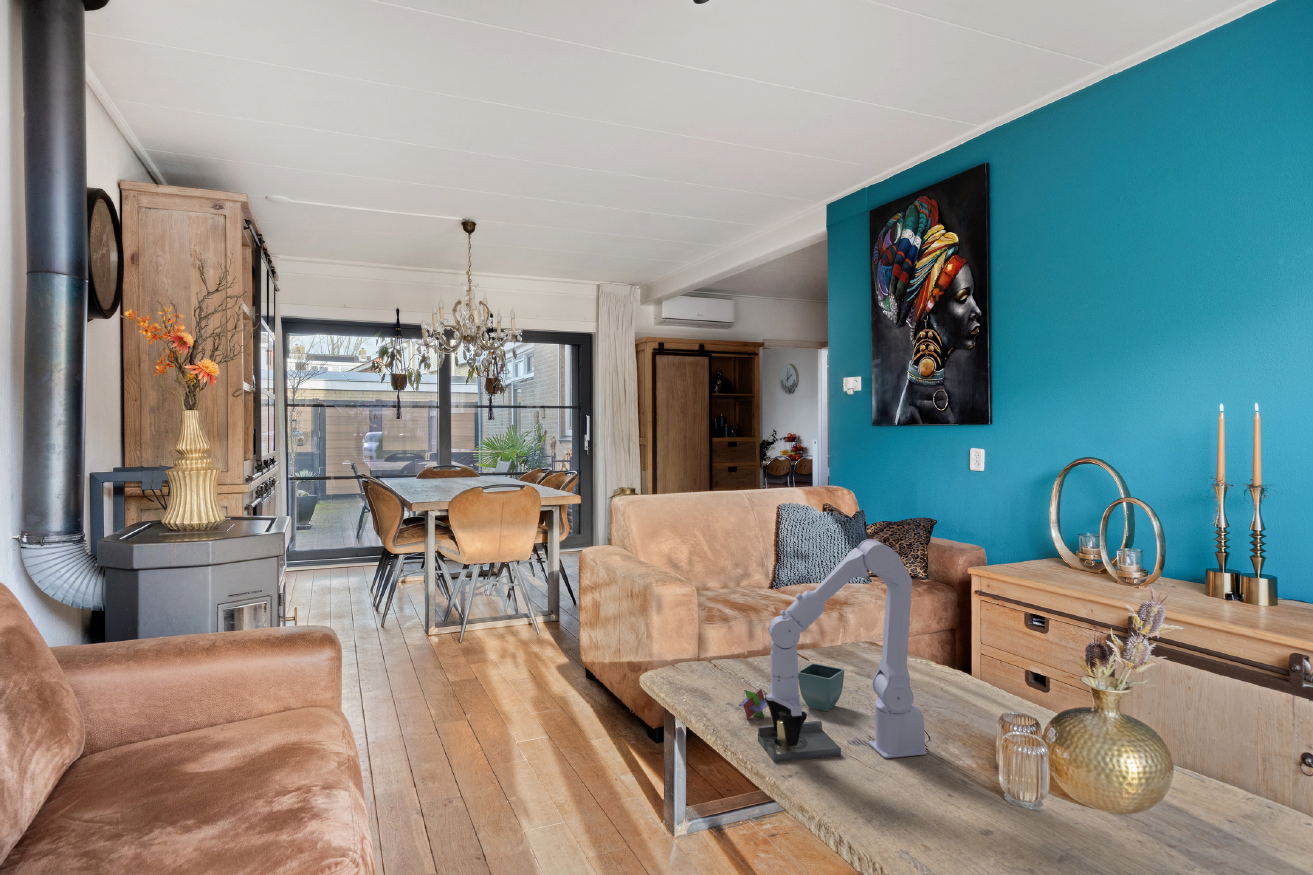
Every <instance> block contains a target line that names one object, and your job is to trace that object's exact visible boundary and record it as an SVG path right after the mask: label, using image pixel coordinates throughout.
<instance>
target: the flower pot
mask: <svg viewBox="0 0 1313 875" xmlns="http://www.w3.org/2000/svg"><path fill="white" fill-rule="evenodd" d="M844 678H845V669H844V668H840V667H833V666H828V665H824V664H819V663H813V662H812V663H810V664H808V665H807V666H805V667H804V668H802V669H801V670H798V687H799V691H800V694H801V697H802V699H803V701H804V703H805V705H806V706H807V708H810V709H811V708H812V709H815V710H819V711H824V712H828V711H829V710H831V709H833V708H834V707H835V706H836V705H837V703H838V701H839V700H840V698H841V694H842V692H843V687H844Z"/></svg>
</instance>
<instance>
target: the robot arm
mask: <svg viewBox="0 0 1313 875" xmlns="http://www.w3.org/2000/svg"><path fill="white" fill-rule="evenodd" d="M868 571H870V572H871V573H872V574H873V575H876V576H877V577H878V578H879V579H880V580H881V581H882V582H883V583H884V584H885V586H886V588H885V589H886V590H885V592H886V593H885V604H884V606H885V607H884V617H883V620H884V622H883V634H882V646H881V647H882V651H881V659H880V660H879V662H878V665H877V672H876V674H875V675H874V676H873V679H872V689H873V691H874V692H875V694H877V698H876V701H875V702H874V710H875V711H874V712H875V715H874V717H875V719H874V721H875V740H869V741H868V745H869V746H871V748H873V749H874V750H875V751H876V752H877V753H879V755H881V757H883V758H885V759H890V758H891V759H892V758H894V759H895V758H900V757H901V758H902V757H903V758H904V757H911V756H912V757H913V756H922V755H923V756H924V755H927V754H928V753H927V751H926V745H925V744H926V742H925V740H926V738H925V736H926V735H925V731H926V730H925V718H924V716H923V713H922V711H921V709H920V708H919V707H918V706H917V705H914V704H913V703H914V692H913V690H912V689H911V686H910V685H911V677H910V673H909V668H908V652H909V651H908V649H909V635H910V634H909V633H910V624H911V623H910V619H911V607H912V605H911V603H912V590H913V580H912V577H911V575H910V574H909V572H908V570H907V568H906V566H905V565H904V563H903V561H902V558H901V555H899V554H898V552H896V551H895V550H894V549H893V548H891V547H890V546H888V545H887V544H883V543H882V542H881V541H879V540H878V539H874V538H867V539H865V540H862V541H861V542H860V543H859V544H858V546H857V547H854V548H853V549H852V550H850V551H849V552H848V554H847V555H846V556H845V557H844V558H843V559H842V560H841V561H840V562H839V563H838V564H837V566H835V568H834V569H833V570H832V571H831V572H830V573H829V574H828V575H827V576H826V577H825V578H824V580H822V582H820V584H819V585H817V587H816V588H815V589H814V590H805V591H804V592H802V593H800V592H798V593H797V594H796V595H795V600H794V601H793V602H792V603H791V604H790V605H789V606H788V607H787V608H786V609H785V610H784V609H782V610H781V611H780V613H779V614H780V615H778V616H775V617H774V618H772V619H771V621H770V623H769V627H768V628H767V629H768V633H769V635H770V637H771V643H770V649H771V650H770V678H771V679H770V680H771V682H770V684H769V693H767V695H766V697H765V696H764V699H765V701H766V703H767V705H768V706H767V707H768V709H769V712H770V716H771V719H772V720H771V721H772V725H773V726H774V729H775V731H776V732H777V720H778V719H781V720H782V723H783V727H784V733H785V740H786V744H787V746H797V744H798V740H799V735H800V731H801V728H802V725H803V723H804V722H805V721H806V720H807V717H808V714H807V712H806V711H803V709H802V707H803V706H802V705H801V702H800V701H801V700H800V697H801V696H800V693H799V691H800V689H799V679H798V671H799V656H798V655H799V653H798V650H797V648H798V645H797V644H798V643H799V641H800V638H801V633H804V632H805V631H806V630H807V629H808V628H809V627H810V626H812V624H813V623H814V622H816V620H817V619H818V618H819V617H821V616H822V614H823V613H824V612H825V610H826V602H828V600H830V598H832V597H833V596H834V595H835V594H837V592H839V591H840V590H841V589H842V588H844V586H846V585H847V584H848V583H849V582H850V581H851V580H852V579H853V578H862V577H868V576H870V574H869V573H868Z"/></svg>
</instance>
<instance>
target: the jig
mask: <svg viewBox="0 0 1313 875" xmlns="http://www.w3.org/2000/svg"><path fill="white" fill-rule="evenodd" d="M757 742H758V743H759V744H760V746H761V747H762V748H763V750H764V751H765V752H766V754H767V756H769V758H770V759H771V760H772V761H773V763H779V762H789V761H790V762H791V761H803V760H810V759H811V760H812V759H823V758H822V757H824V758H832V757H833V758H834V757H841V756H842V748H841V746H839V745H838V744H837V743H836V742H835V741H834V740H833V739H832V738H831V737H830V736H829V735H828V734H827V733H826V732H825V731H824V730H823V722H822V721H821V720H817V721H806V722H805V721H804V723H803V725H802V728H801V731H800V735H799V740H798V744H797V746H791V747H784V746H779V745H778V741H777V732H776V731H775V729H774V726H773V724H768V725H759V726H758V725H757ZM840 755H841V756H840Z"/></svg>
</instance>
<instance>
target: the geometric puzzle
mask: <svg viewBox="0 0 1313 875" xmlns="http://www.w3.org/2000/svg"><path fill="white" fill-rule="evenodd" d="M743 690H744V691H743V693H744V694H745V695H746V698H744V699H743V701H741V702H739V703H738V706H739V707H741V708H740V709H741V711H743V710H742V709H744V711H745V712H744V713H745V717H746V720H748V721H749V720H751V719H752V718H754V717H756V716H757V715H758V716H757V717H760V719H764V718H765V719H766V716H765V713H764V712H763V711H764V710H766V708H767V707H768V705H767V703H766V701H765V697H766V695H767V694H768V693H767V691H765V690H764V689H763V688H759V689H758V690H757V691H756V692H755V691H754V692H752V691H750V690H749V689H748V690H747V689H743ZM744 694H743V695H742V696H741V697H744Z"/></svg>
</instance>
